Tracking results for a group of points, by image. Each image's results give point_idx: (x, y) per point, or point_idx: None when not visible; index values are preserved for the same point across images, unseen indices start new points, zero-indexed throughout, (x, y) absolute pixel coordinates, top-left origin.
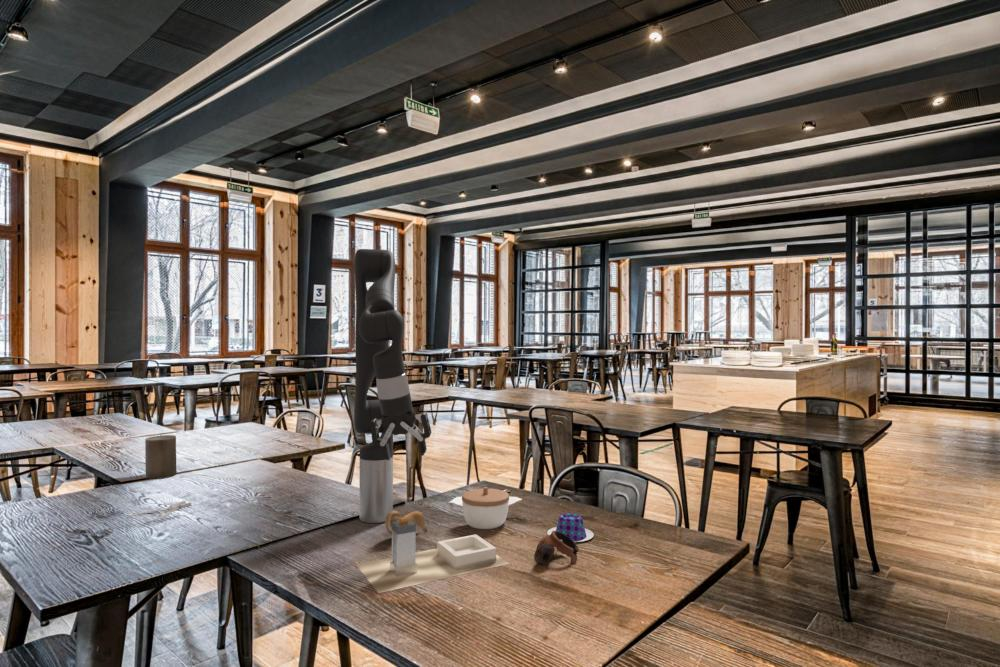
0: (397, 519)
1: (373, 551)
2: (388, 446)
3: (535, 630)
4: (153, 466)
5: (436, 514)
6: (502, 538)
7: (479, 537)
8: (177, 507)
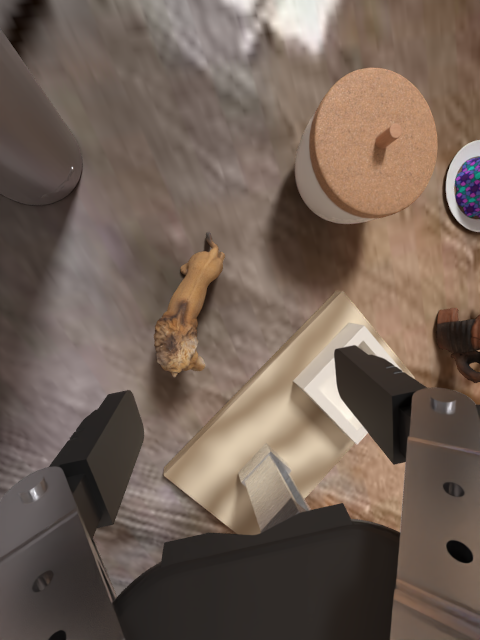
0: (195, 363)
1: (148, 373)
2: (103, 456)
3: None
4: None
5: (186, 95)
6: (371, 234)
7: (374, 341)
8: None
